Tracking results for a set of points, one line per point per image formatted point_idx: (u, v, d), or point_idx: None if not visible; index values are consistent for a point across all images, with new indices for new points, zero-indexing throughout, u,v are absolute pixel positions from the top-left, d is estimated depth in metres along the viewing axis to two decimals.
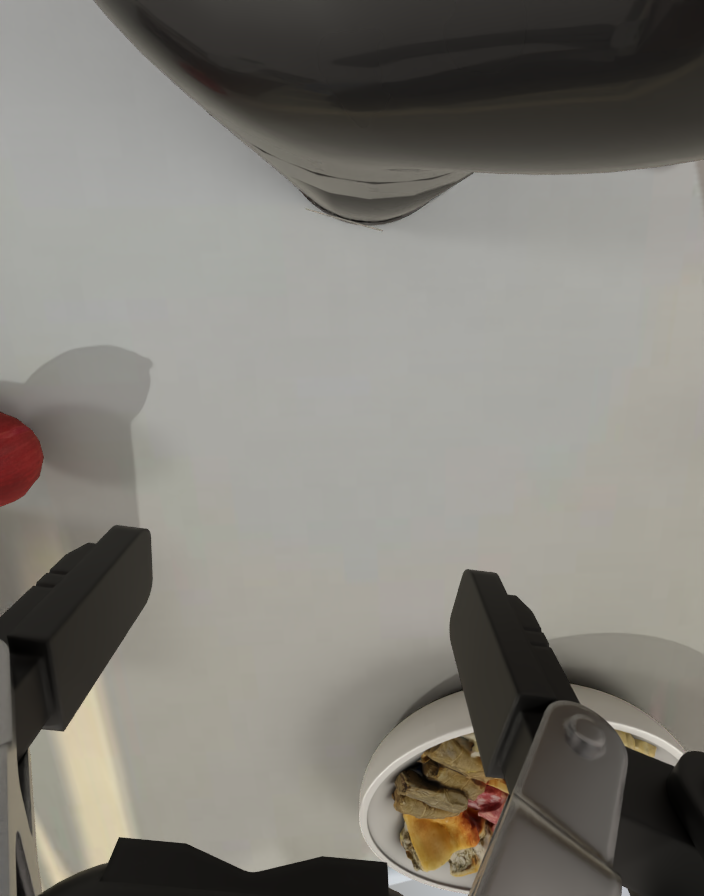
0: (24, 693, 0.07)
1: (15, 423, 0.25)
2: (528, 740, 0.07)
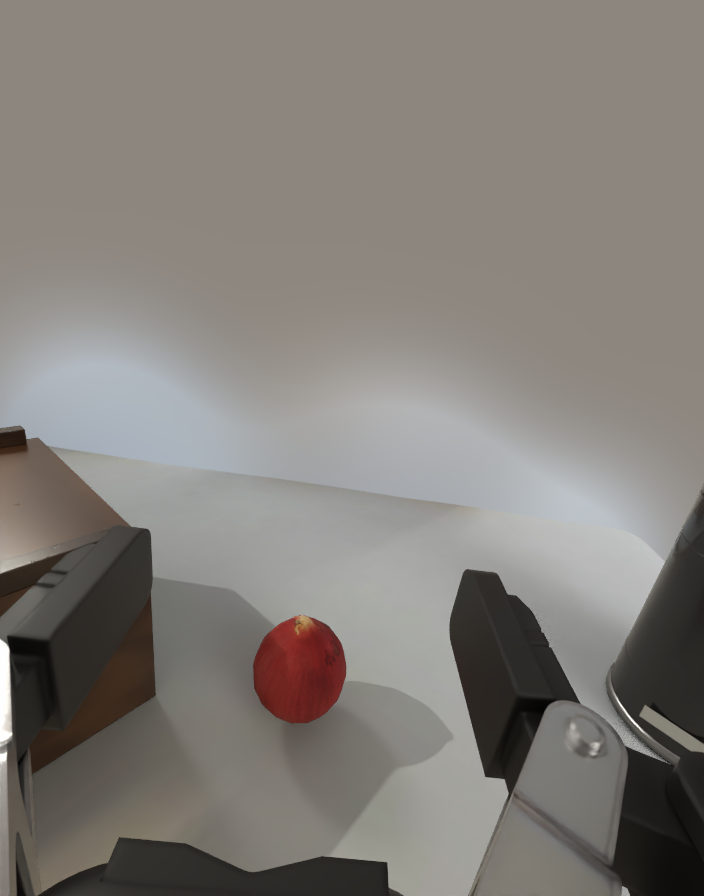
0: (24, 693, 0.07)
1: None
2: (528, 740, 0.07)
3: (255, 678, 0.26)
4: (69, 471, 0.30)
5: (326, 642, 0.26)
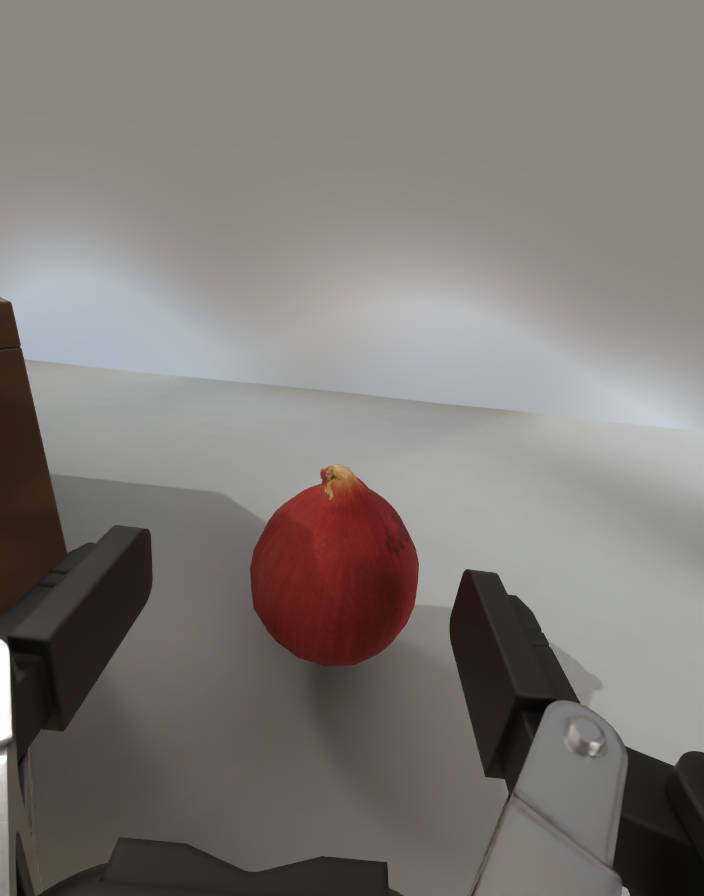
0: (24, 693, 0.07)
1: None
2: (528, 740, 0.07)
3: (254, 587, 0.14)
4: None
5: (385, 515, 0.14)
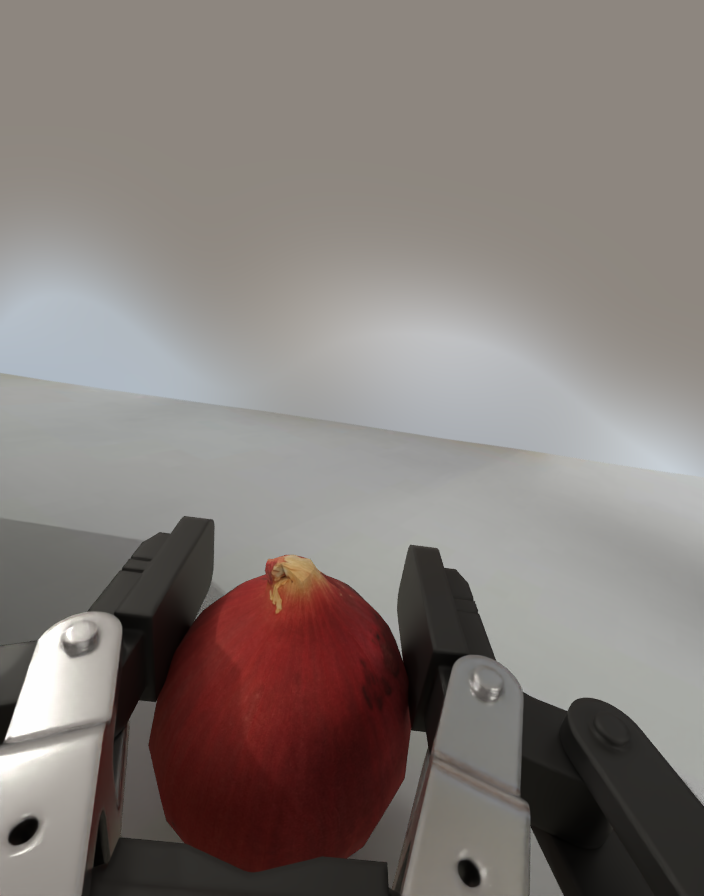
0: (131, 664, 0.08)
1: None
2: (441, 690, 0.08)
3: (151, 743, 0.09)
4: None
5: (365, 637, 0.09)
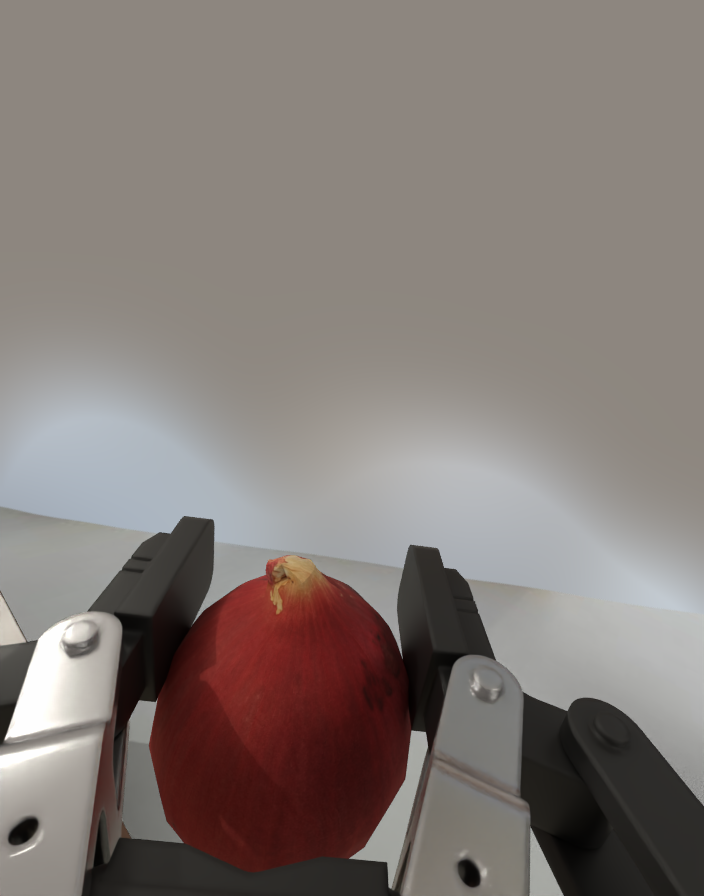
0: (131, 664, 0.08)
1: None
2: (441, 690, 0.08)
3: (151, 744, 0.09)
4: None
5: (366, 638, 0.09)
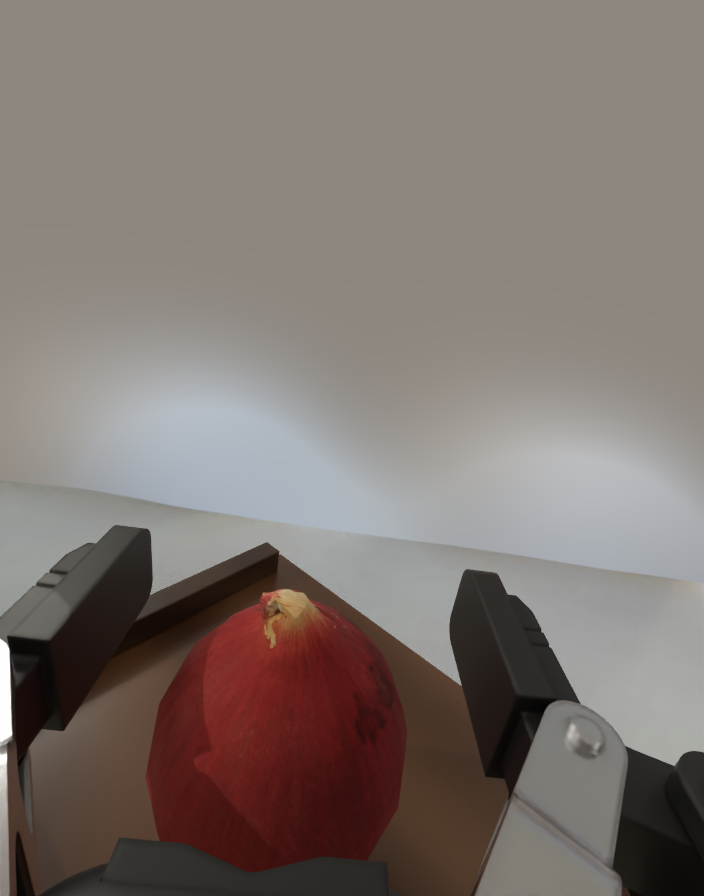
0: (24, 693, 0.07)
1: None
2: (528, 740, 0.07)
3: (147, 776, 0.09)
4: (385, 635, 0.19)
5: (359, 669, 0.09)
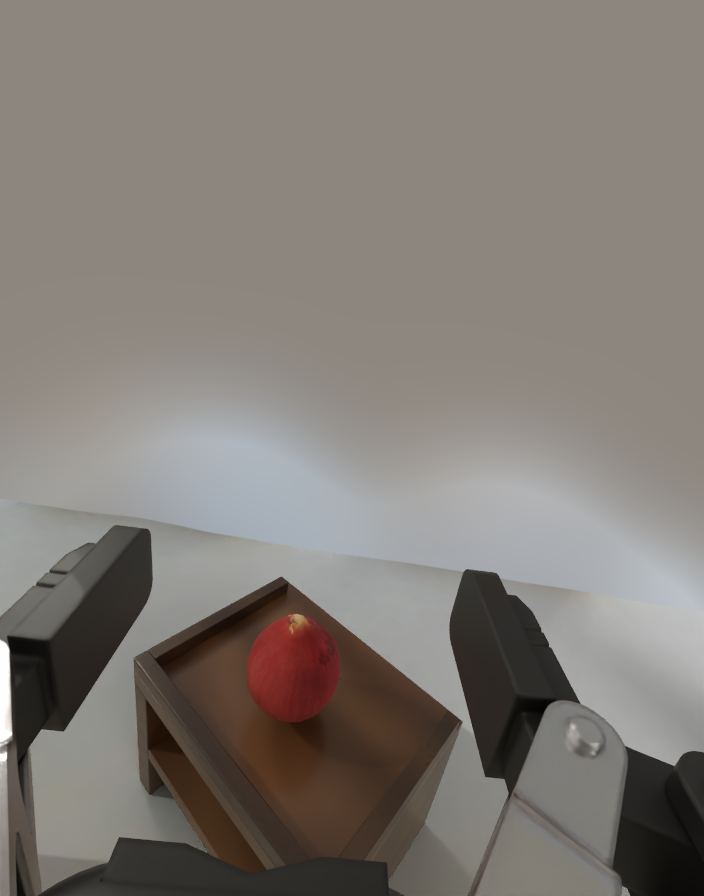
0: (24, 693, 0.07)
1: None
2: (528, 740, 0.07)
3: (248, 676, 0.26)
4: (344, 629, 0.35)
5: (321, 641, 0.26)
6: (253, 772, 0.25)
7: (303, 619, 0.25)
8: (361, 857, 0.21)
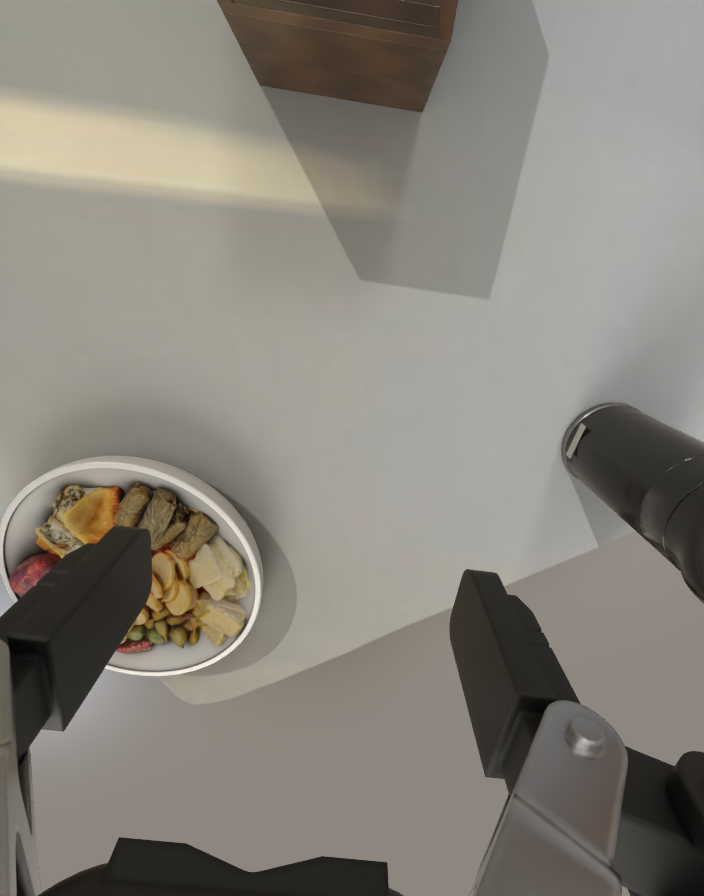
0: (24, 693, 0.07)
1: None
2: (528, 740, 0.07)
3: None
4: None
5: None
6: None
7: None
8: None
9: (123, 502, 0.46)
